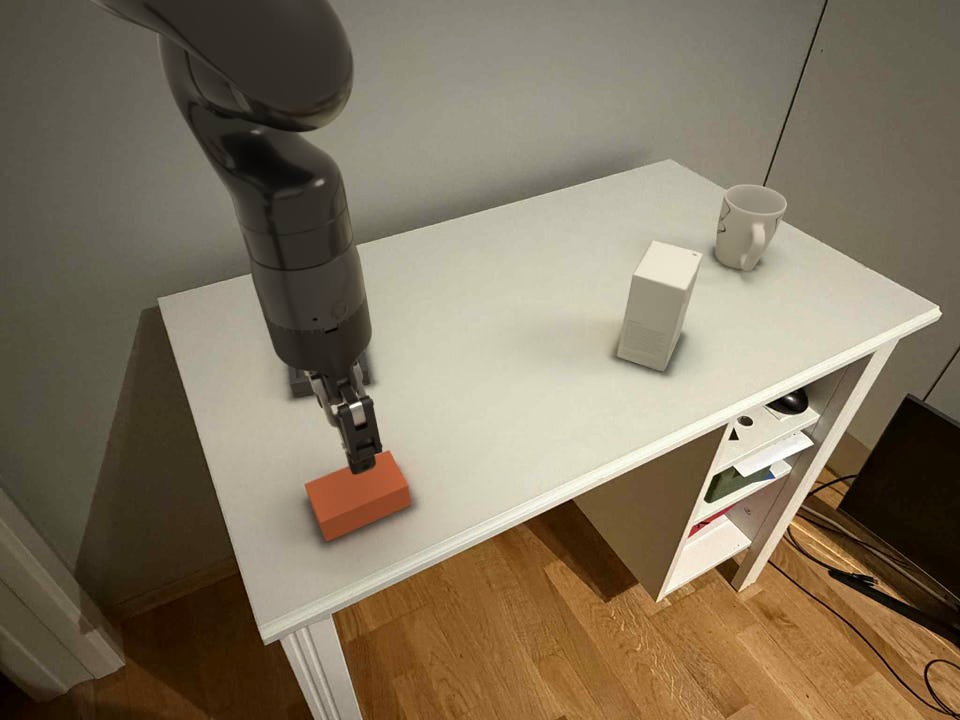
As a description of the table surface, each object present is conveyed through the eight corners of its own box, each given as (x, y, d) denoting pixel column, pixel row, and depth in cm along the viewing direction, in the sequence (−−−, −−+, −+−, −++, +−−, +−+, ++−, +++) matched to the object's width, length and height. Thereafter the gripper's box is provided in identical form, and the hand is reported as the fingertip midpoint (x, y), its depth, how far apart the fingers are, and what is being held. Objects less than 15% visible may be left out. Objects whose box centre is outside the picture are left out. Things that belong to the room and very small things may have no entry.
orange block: (326, 542, 62) (320, 523, 59) (310, 503, 65) (304, 483, 63) (411, 505, 65) (408, 485, 63) (392, 469, 68) (389, 449, 66)
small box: (634, 320, 86) (652, 238, 77) (680, 335, 84) (705, 252, 75) (614, 357, 81) (631, 273, 72) (663, 373, 79) (687, 289, 70)
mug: (774, 288, 91) (799, 228, 84) (714, 284, 92) (733, 224, 85) (758, 244, 99) (779, 185, 93) (703, 240, 100) (720, 182, 93)
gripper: (237, 257, 49) (283, 397, 61) (290, 371, 40) (332, 512, 52) (330, 231, 52) (357, 371, 63) (399, 334, 43) (416, 475, 54)
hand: (346, 434), depth 57 cm, fingers open, 8 cm apart
